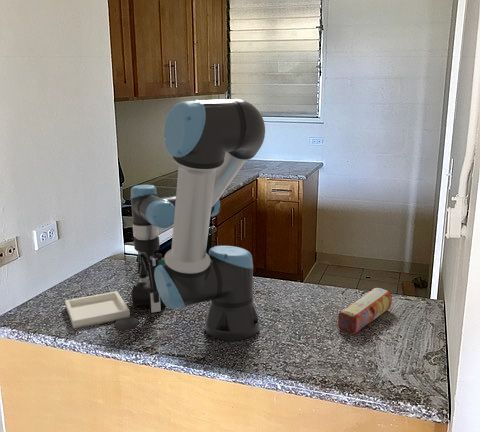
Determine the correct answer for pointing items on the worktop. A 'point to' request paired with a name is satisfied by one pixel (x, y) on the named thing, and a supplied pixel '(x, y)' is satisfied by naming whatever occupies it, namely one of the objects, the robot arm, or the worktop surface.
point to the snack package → (364, 310)
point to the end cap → (142, 295)
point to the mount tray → (96, 309)
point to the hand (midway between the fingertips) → (150, 304)
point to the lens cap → (126, 323)
